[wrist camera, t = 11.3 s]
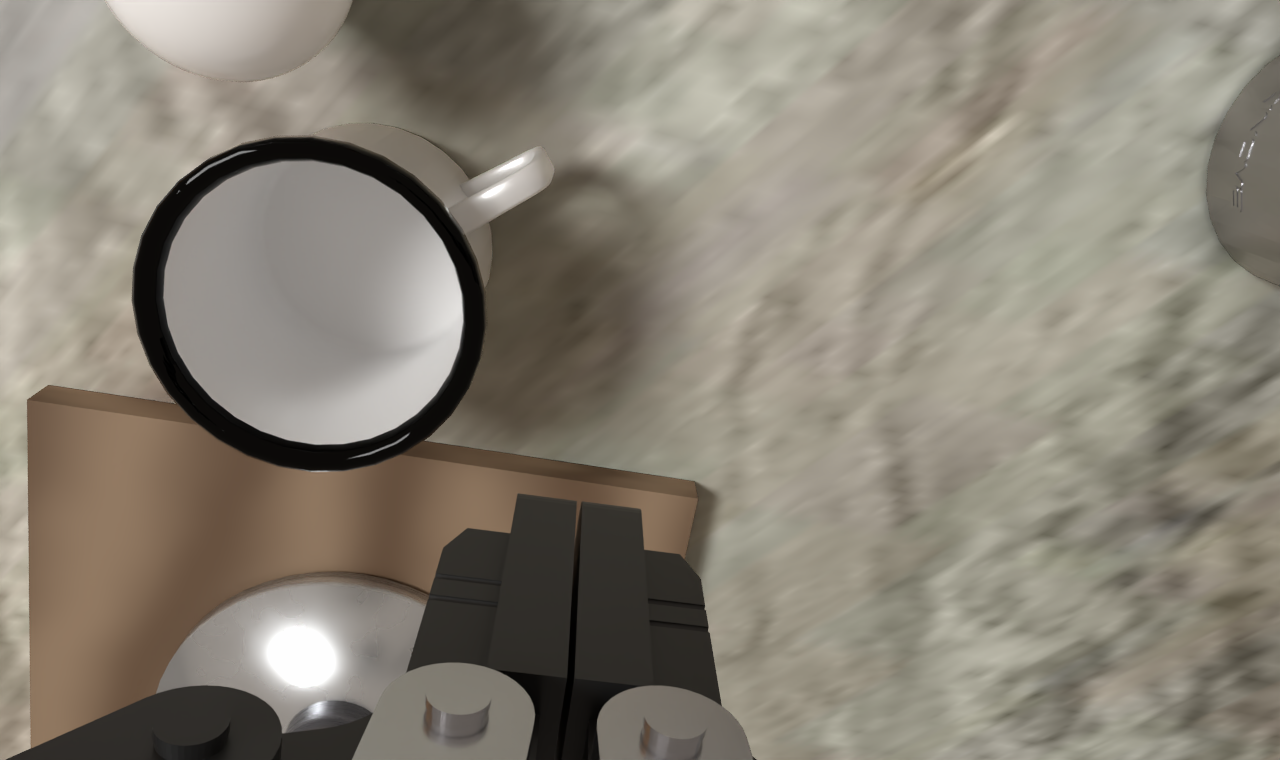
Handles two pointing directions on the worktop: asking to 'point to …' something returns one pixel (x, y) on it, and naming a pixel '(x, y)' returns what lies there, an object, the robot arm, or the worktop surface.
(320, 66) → the worktop surface
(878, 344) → the worktop surface
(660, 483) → the walnut board
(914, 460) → the worktop surface
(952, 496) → the worktop surface
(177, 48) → the lightbulb
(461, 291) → the mug
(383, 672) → the pot lid with knob
